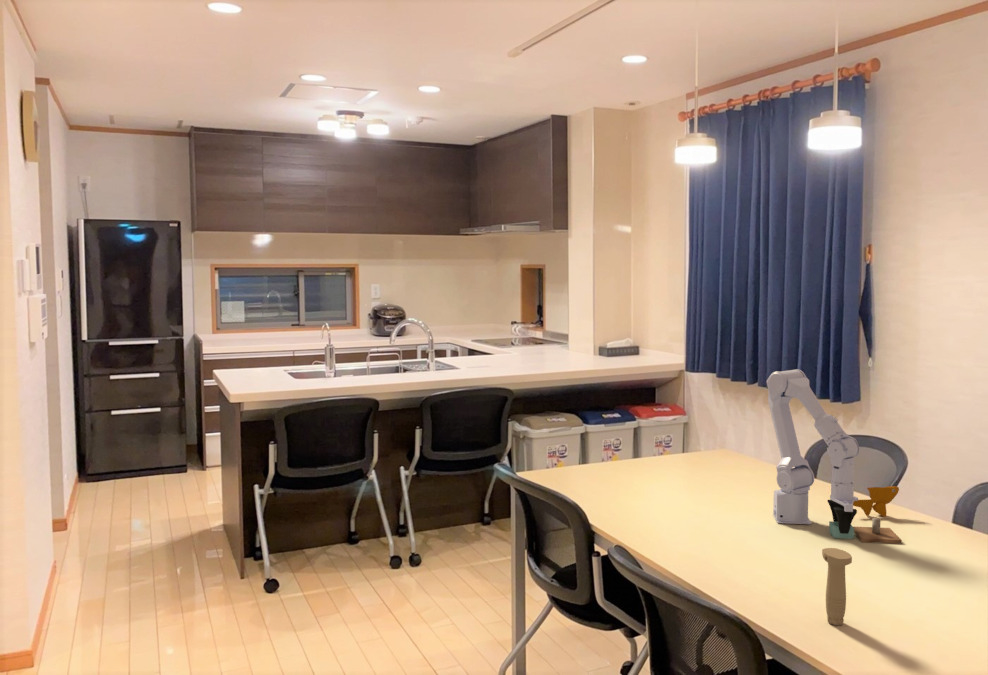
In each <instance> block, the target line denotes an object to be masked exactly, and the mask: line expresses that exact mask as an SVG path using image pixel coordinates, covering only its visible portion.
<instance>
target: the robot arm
mask: <svg viewBox="0 0 988 675" xmlns="http://www.w3.org/2000/svg"><path fill="white" fill-rule="evenodd" d="M766 386H767V390H768V394H767V395H768V396H767V401H768V407H769V410H770V412H769V413H770V415H771V419H772V423H773V429H774V432H775V437H776V442H777V445H778V449H779V455H780V461H779V462H778V464H777V465H776V467H775V468H776V472H777V473H776V483H777V486H778V487H779V488H780V489H774V491H773V512H772V516H773V517H774V519H775V521H776V523H778V524H786V525H787V524H789V525H791V524H792V525H793V524H794V525H812V521H811V520H810V518H809V491H810V490H811V489H810V488H811V487H812V486H813V484H814V483H815V474H814V472H813V470H812V468H811V467H810V464H809V461H808V460H807V459H806V458H804V457H803V456H802V455H801V450H800V447H799V442H798V438H797V433H796V430H795V429H796V428H795V424H794V421H793V420H794V419H793V417H792V413H791V412H792V411H791V408H790V403H791V400H792V399H794V398H795V399H797V400H798V401H799V402H800V403H801V404H802V406H803V407H804V408H805V410H807V412H808V413H809V414H810V415H811V417H812V418H813V419H814V426H813V427H814V428H815V430H816V431H817V432H818V433H819V435H820V436H821V438H822V439H823V440H824V442H825V444H826V445H827V446H828V447H826V451H827V455H828V456H829V460H830V464H831V475H830V476H831V480H830V496H829V499H827V503H828V506H829V508H830V511H831V514H832V522H838V525H839V531H840V533H845V534H848V533H849V530H850V526H851V525H852V522H853V520H854V518H855V516H856V514H858V510H857V509H856V508H854V506H853V503H854V501H858V500H859V498H858V496H856V495H855V496H854V490H855V489H854V488H855V482H854V481H855V458H856V457H857V456H858V455H859V453H860V445H859V442H858V441H857V439H856V438H855V437H853V436H850V435H849V434H848V433H846V432H845V431H844V429H843V427H841V425H840V423H839V420H838V419H837V418H836V417H835V416H834V415H832V414H828V413H827V412H826V411H825V409H824V407H823V406H822V404H821V403H820V401H819V400H818V397H817V396H816V395H815V392H813V390H812V388H811V387H810V379H808V377H807V376H806V373H804V371H802V370H801V369H797V368H796V369H790V370H789V369H788V370H782V371H781V370H780V371H777V370H776V371H773V372H772V373H771V374H770V375H769V376H768V378H767V379H766Z"/></svg>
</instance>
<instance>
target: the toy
mask: <svg viewBox="0 0 988 675" xmlns="http://www.w3.org/2000/svg"><path fill="white" fill-rule="evenodd" d="M866 489H867V490H868V493H869V498H870V499H869V498H868V499H858V501H854V503H853V507H857V508H861V510H862V511H863V512H864V515H865V516H867V517H869V516H870V514H871V513H872V510H873V511H875V513H877V514H878V515H880V516H882V517H884V518H887V506H886V505H888V504H889V503H891V502H892V501H893V500H894V499H895V498H896V496H897V495H898V494H899V491H900V488H899V487H898V486H895V485H891V486H884V487H882V486H881V487H876V486H875V487H873V486H872V487H866Z"/></svg>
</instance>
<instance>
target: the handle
mask: <svg viewBox="0 0 988 675" xmlns="http://www.w3.org/2000/svg"><path fill="white" fill-rule="evenodd" d="M821 552H822V559H823V560H824V561H825V562H826V563H827V575H826V577H827V578H826V588H825V609H826V610H825V611H826V617H827V622H828V623H827V624H829V625H834V626H842V625H843V624H844V621H845V620H844V618H845V614H846V609H847V608H846V607H847V587H846V583H847V582H846V566H848V565H850V564H852V563H853V556H852V554H850V553H849V552H848V551H845V550H843V549H841V548H840V549H839V548H836V547H827V548H825V547H824V548H822V549H821Z"/></svg>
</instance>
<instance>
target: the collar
mask: <svg viewBox="0 0 988 675" xmlns="http://www.w3.org/2000/svg"><path fill="white" fill-rule="evenodd" d="M854 527H855V526H853V525H852V524H851V526H850V530H849V533H848V534H845V533H840V531H839V525H838V522H834V521H833V520H832V521H829V522H828V531H829V532H828V533H829V534H830V533H831V534H830V535H831V536H833V537H832V538H833V539H849V540H851V539H852V540H854V539H855V533H854Z"/></svg>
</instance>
